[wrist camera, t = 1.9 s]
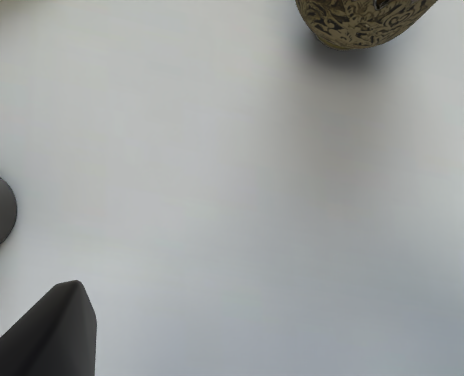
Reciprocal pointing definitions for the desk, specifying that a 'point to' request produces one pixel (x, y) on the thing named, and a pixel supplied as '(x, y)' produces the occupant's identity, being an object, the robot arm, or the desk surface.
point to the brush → (6, 210)
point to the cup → (360, 20)
